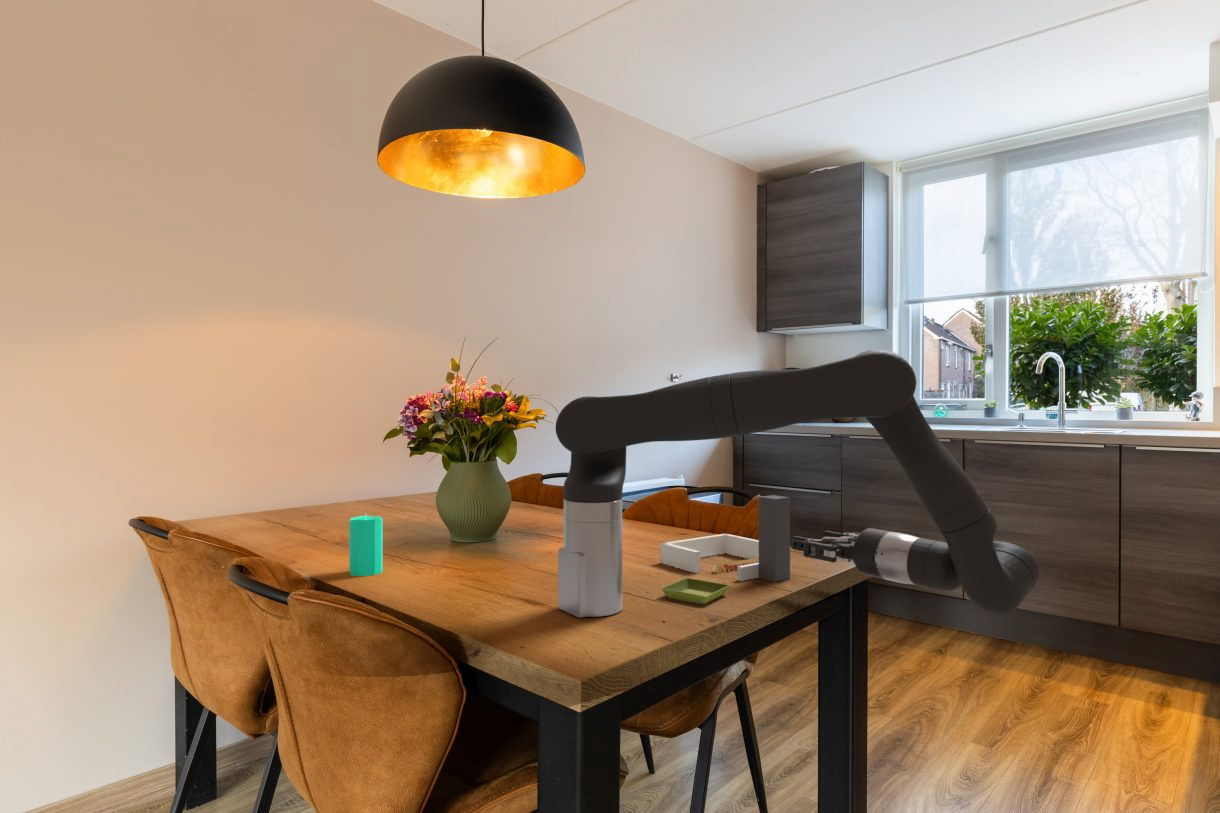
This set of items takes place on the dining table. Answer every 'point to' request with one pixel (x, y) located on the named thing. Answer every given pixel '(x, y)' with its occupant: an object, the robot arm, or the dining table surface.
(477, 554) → the dining table surface
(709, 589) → the green square dish
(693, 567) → the white walled enclosure
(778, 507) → the grey upright piece
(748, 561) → the chocolate bar
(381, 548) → the candle
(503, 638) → the dining table surface
